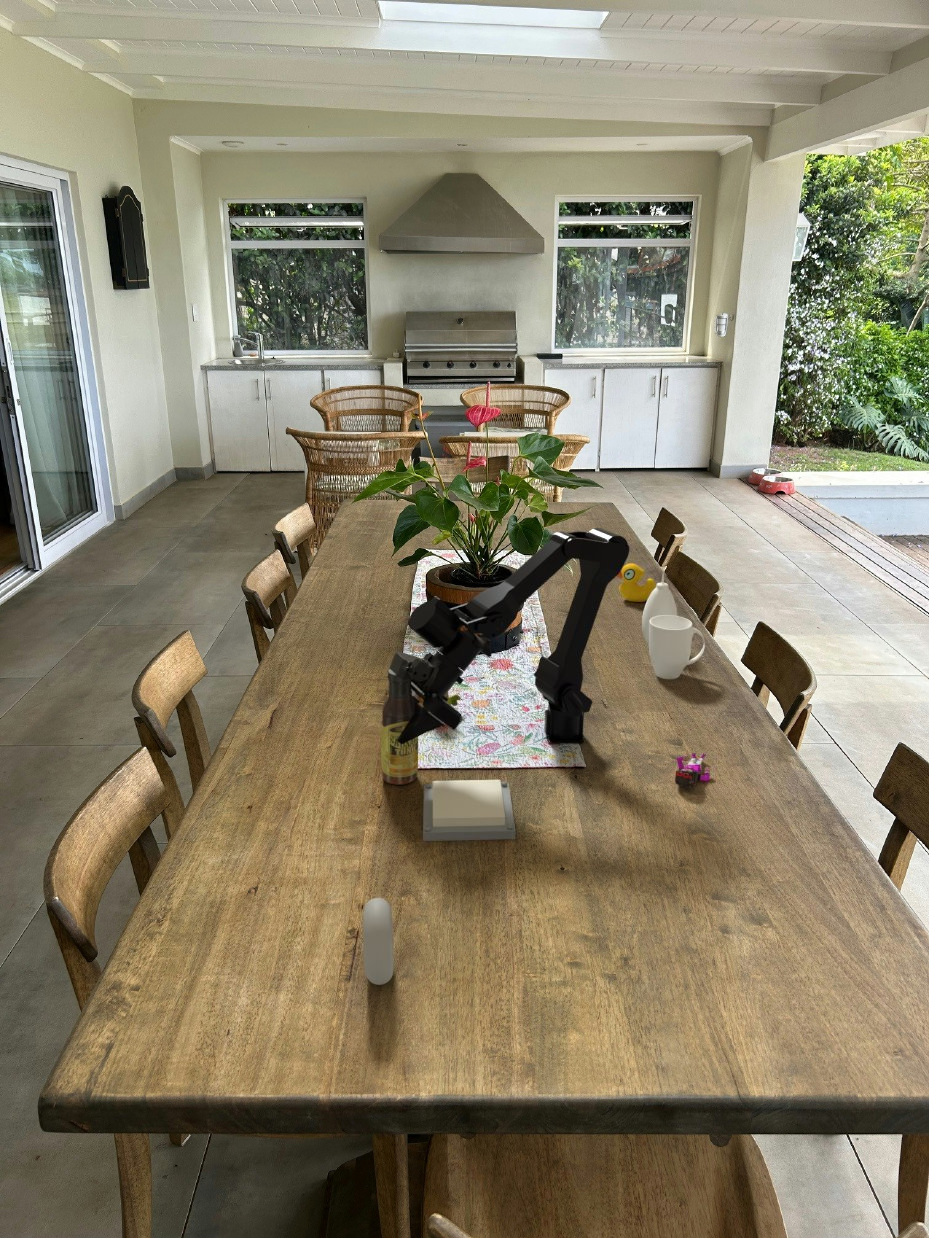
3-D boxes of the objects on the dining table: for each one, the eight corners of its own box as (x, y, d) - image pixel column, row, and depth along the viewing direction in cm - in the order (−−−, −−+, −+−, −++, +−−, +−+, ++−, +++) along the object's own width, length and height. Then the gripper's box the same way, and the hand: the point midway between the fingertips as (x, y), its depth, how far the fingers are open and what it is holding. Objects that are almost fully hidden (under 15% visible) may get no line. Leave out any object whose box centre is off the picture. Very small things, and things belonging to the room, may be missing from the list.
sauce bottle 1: (390, 790, 153) (386, 681, 146) (376, 773, 158) (371, 667, 151) (426, 781, 156) (423, 673, 149) (410, 764, 161) (408, 660, 154)
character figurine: (682, 763, 163) (667, 788, 152) (686, 737, 162) (671, 760, 151) (714, 771, 161) (702, 797, 150) (719, 744, 160) (706, 768, 149)
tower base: (508, 790, 153) (508, 774, 152) (515, 838, 140) (515, 822, 138) (424, 792, 152) (423, 776, 151) (423, 840, 139) (422, 824, 138)
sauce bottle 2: (678, 653, 207) (684, 578, 201) (643, 653, 207) (648, 577, 201) (671, 640, 214) (677, 567, 208) (637, 640, 215) (642, 567, 208)
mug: (649, 682, 193) (652, 628, 189) (643, 666, 201) (646, 614, 197) (705, 683, 192) (710, 629, 188) (697, 667, 200) (702, 615, 196)
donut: (366, 946, 117) (363, 881, 114) (393, 945, 118) (391, 880, 114) (364, 1004, 108) (361, 935, 105) (394, 1003, 108) (391, 934, 105)
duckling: (609, 601, 240) (611, 565, 237) (613, 595, 245) (615, 559, 241) (652, 606, 237) (655, 569, 233) (656, 600, 241) (658, 563, 238)
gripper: (396, 617, 157) (338, 688, 157) (443, 655, 142) (379, 734, 141) (438, 652, 163) (383, 720, 163) (488, 691, 148) (427, 767, 147)
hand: (391, 734), depth 153 cm, fingers closed on sauce bottle 1, 6 cm apart
